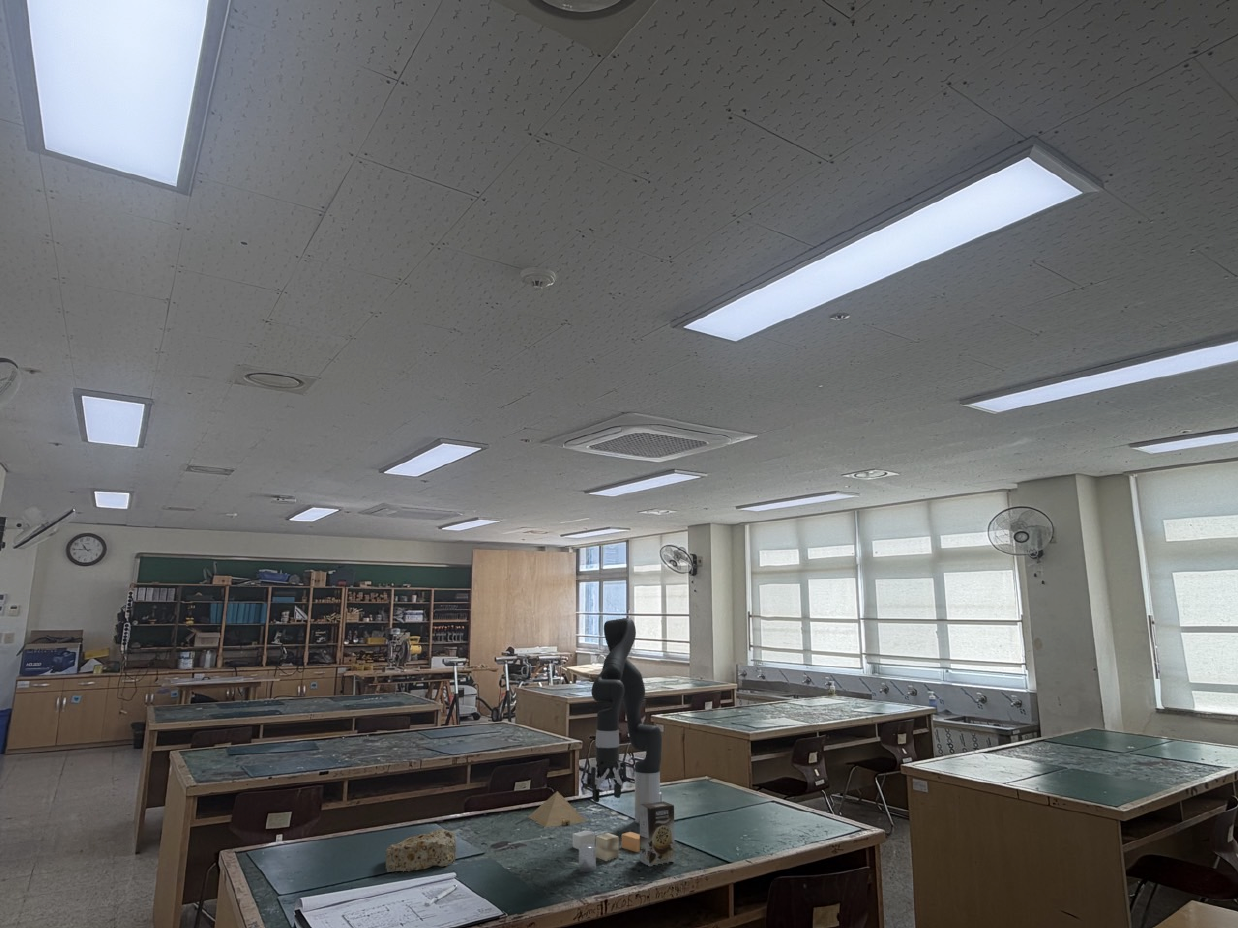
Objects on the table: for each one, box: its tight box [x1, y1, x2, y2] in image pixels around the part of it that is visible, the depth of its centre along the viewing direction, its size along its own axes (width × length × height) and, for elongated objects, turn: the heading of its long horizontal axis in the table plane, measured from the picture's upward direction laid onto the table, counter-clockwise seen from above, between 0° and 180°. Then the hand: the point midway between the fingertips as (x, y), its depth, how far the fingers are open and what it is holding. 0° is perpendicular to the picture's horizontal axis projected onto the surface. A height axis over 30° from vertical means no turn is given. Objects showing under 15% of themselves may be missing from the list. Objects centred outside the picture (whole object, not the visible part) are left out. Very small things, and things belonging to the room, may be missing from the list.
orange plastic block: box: [621, 831, 640, 853], centre depth 225 cm, size 4×7×4 cm, turn 45°
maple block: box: [595, 832, 620, 862], centre depth 217 cm, size 5×5×6 cm
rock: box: [385, 828, 457, 872], centre depth 211 cm, size 21×14×10 cm
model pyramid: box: [527, 790, 587, 828], centre depth 258 cm, size 17×17×10 cm
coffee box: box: [639, 800, 675, 867], centre depth 214 cm, size 9×6×16 cm
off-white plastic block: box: [572, 830, 596, 850], centre depth 227 cm, size 6×4×4 cm, turn 130°
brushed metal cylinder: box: [578, 844, 597, 873], centre depth 207 cm, size 5×5×6 cm
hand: (606, 799), depth 220 cm, fingers open, 8 cm apart
